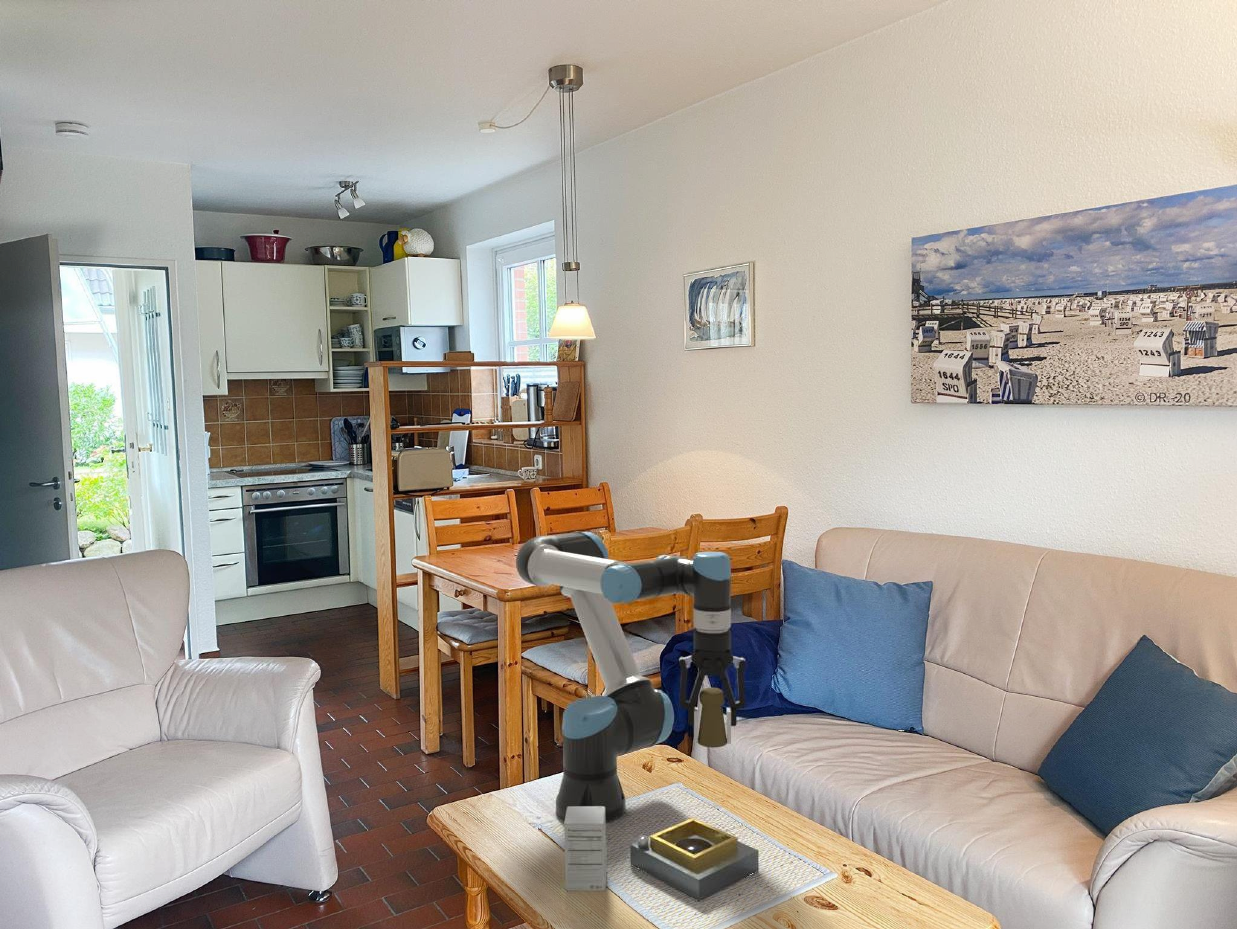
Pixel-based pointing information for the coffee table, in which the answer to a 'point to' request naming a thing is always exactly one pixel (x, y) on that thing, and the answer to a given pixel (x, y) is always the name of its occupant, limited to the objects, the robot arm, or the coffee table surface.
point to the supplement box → (585, 848)
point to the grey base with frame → (694, 858)
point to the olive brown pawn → (712, 718)
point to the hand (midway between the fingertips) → (712, 740)
